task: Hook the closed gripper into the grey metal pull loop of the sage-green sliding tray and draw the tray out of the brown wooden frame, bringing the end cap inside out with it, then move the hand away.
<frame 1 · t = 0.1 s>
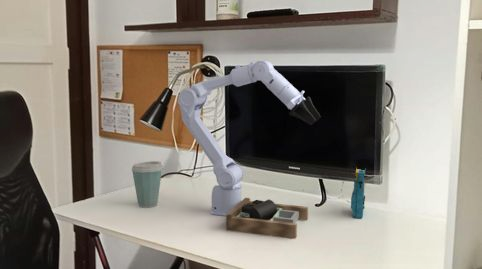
hand: (316, 121, 154), 32 cm above the table, tool tilted 50°, fingers open, 7 cm apart
end cap: (259, 224, 157), resting in pull tray
pull tray: (268, 218, 156), point 2 cm above the table, slide at 0.0 cm
disposable coffee cup: (148, 205, 176), on the table
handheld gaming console: (357, 214, 166), on the table
brown wooden frame: (265, 224, 157), on the table
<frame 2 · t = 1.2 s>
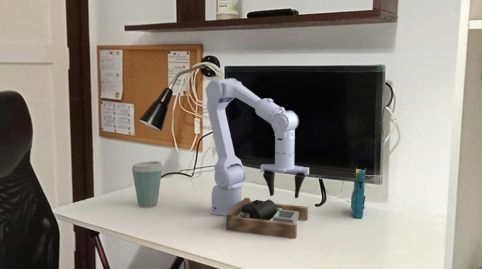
hand: (284, 196, 153), 9 cm above the table, tool pointing down, fingers open, 7 cm apart
nothing on the table moved.
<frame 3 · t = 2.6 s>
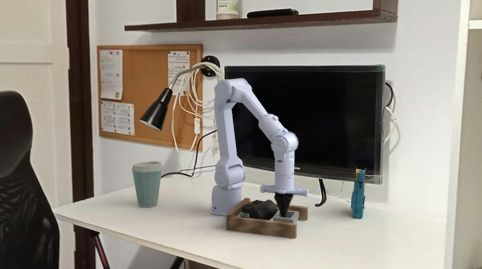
hand: (283, 217, 154), 3 cm above the table, tool pointing down, fingers closed
nothing on the table moved.
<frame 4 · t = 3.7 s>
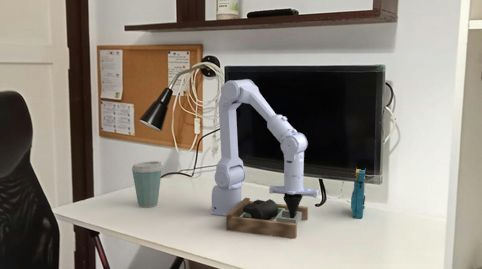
hand: (293, 218, 153), 3 cm above the table, tool pointing down, fingers closed
end cap: (260, 224, 157), resting in pull tray
pull tray: (271, 218, 156), point 2 cm above the table, slide at 0.9 cm, touching end cap, gripper
everything else where it was.
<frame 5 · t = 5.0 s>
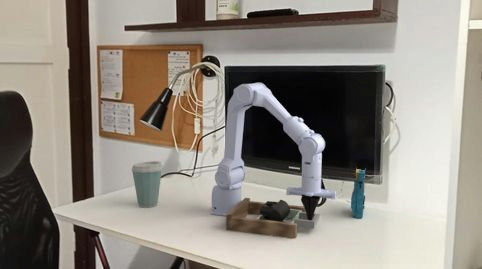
hand: (310, 219, 152), 3 cm above the table, tool pointing down, fingers closed
end cap: (274, 225, 156), resting in pull tray
pull tray: (288, 220, 154), point 2 cm above the table, slide at 6.3 cm, touching gripper
everything else where it was.
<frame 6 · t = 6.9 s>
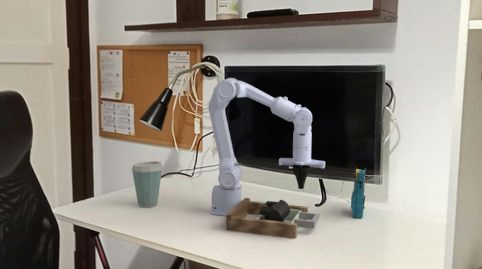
hand: (301, 188, 163), 9 cm above the table, tool pointing down, fingers closed
pull tray: (288, 220, 154), point 2 cm above the table, slide at 6.3 cm
everything else where it was.
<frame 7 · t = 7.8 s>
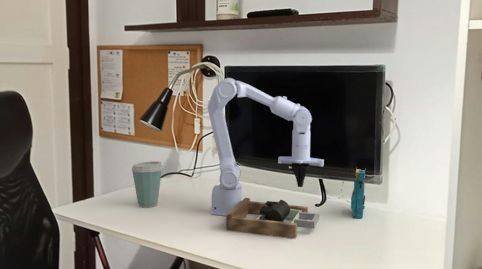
hand: (300, 186, 165), 9 cm above the table, tool pointing down, fingers closed
nothing on the table moved.
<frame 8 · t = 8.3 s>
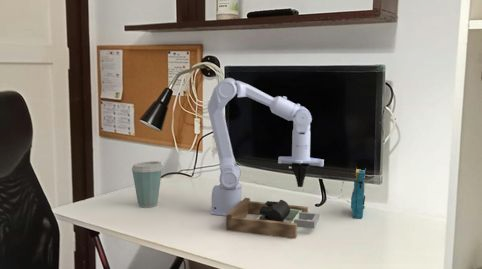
hand: (300, 186, 165), 9 cm above the table, tool pointing down, fingers closed
nothing on the table moved.
at the end: pull tray slide at 6.3 cm; end cap moved 4.9 cm from its start; the gripper is holding nothing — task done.
